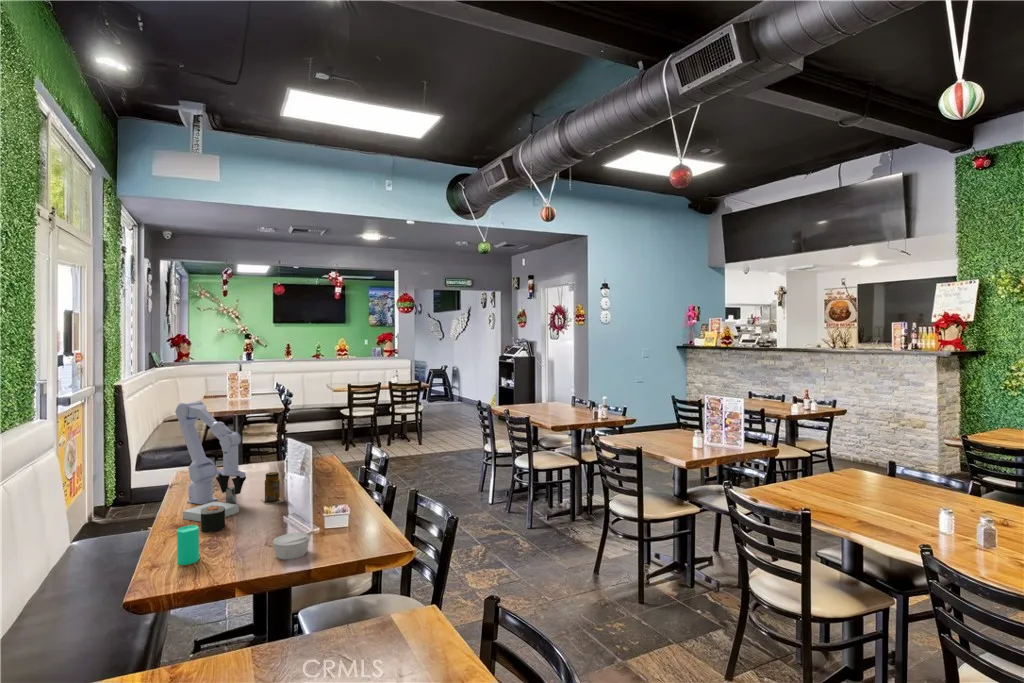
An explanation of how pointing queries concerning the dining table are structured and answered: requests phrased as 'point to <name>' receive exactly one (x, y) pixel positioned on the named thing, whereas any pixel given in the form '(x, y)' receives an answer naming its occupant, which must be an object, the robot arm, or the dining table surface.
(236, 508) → the socket
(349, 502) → the dining table surface
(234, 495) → the peg
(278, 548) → the ramekin
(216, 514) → the sushi
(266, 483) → the condiment
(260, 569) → the dining table surface
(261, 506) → the dining table surface
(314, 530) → the dining table surface
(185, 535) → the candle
